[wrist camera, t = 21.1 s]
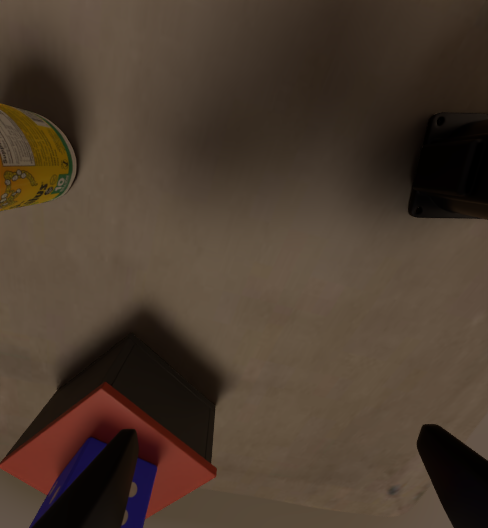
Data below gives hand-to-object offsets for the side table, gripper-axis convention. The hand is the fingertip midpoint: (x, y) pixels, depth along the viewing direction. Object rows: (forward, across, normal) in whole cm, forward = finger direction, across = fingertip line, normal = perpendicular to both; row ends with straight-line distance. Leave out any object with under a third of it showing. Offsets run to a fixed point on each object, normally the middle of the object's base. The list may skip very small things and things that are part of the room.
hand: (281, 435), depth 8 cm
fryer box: (+13, +10, +12) cm, 20 cm away
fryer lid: (+7, +10, +12) cm, 17 cm away
